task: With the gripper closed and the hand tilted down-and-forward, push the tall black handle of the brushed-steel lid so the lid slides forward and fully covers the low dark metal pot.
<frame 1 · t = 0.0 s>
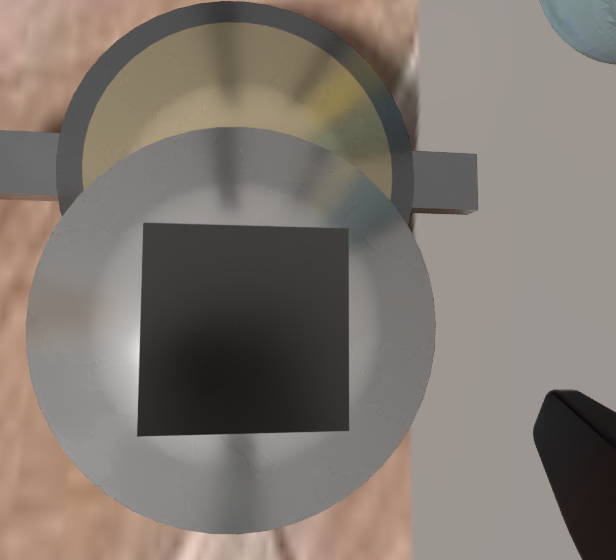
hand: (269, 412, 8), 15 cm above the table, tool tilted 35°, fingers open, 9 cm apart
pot: (242, 189, 23), on the table
lid: (243, 325, 14), point 9 cm above the table, slide at -6.0 cm
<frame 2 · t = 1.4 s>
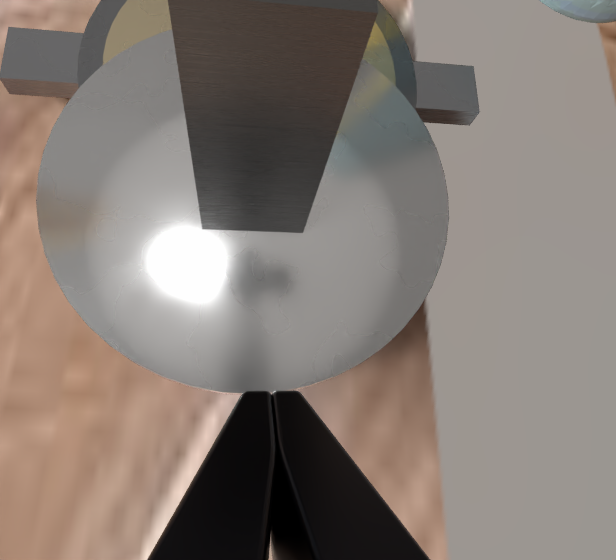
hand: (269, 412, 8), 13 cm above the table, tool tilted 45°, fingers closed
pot: (252, 110, 24), on the table
lid: (260, 108, 14), point 9 cm above the table, slide at -6.0 cm
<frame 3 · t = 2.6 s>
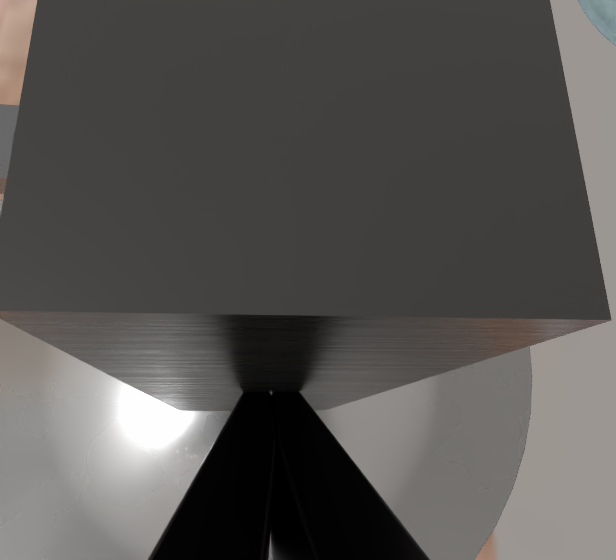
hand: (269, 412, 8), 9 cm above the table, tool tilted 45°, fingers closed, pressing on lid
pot: (253, 194, 18), on the table
lid: (266, 286, 8), point 9 cm above the table, slide at -6.0 cm, touching gripper
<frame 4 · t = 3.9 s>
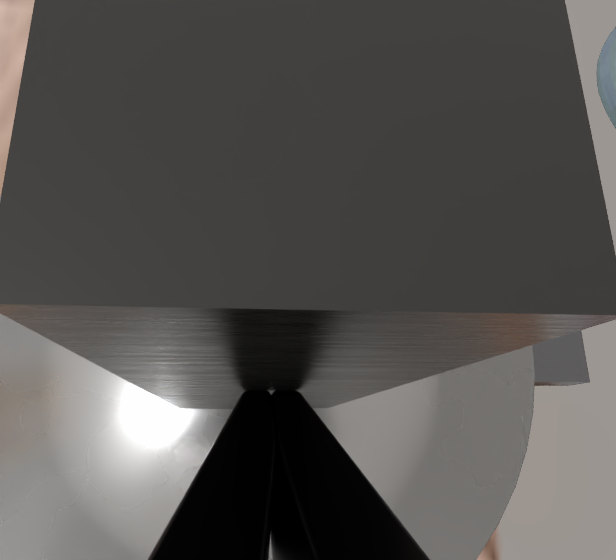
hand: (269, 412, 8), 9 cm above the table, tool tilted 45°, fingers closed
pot: (251, 353, 17), on the table
lid: (268, 282, 8), point 9 cm above the table, slide at -0.2 cm
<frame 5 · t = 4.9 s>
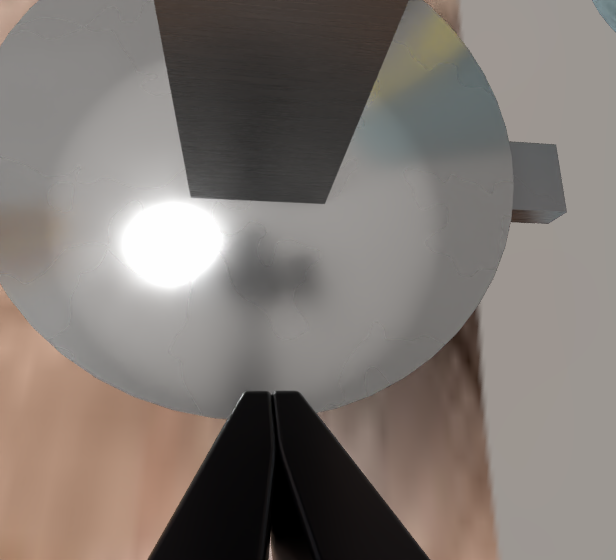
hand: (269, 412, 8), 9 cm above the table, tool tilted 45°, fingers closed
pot: (254, 198, 18), on the table
lid: (271, 12, 10), point 9 cm above the table, slide at -0.2 cm
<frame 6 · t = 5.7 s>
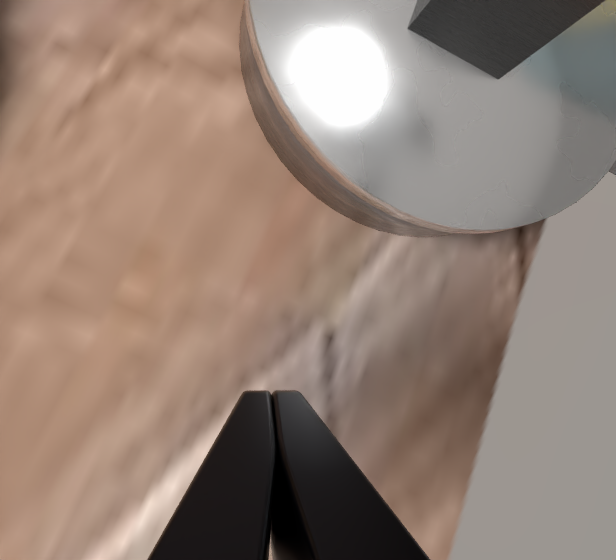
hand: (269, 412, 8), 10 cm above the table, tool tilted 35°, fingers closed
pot: (411, 66, 21), on the table
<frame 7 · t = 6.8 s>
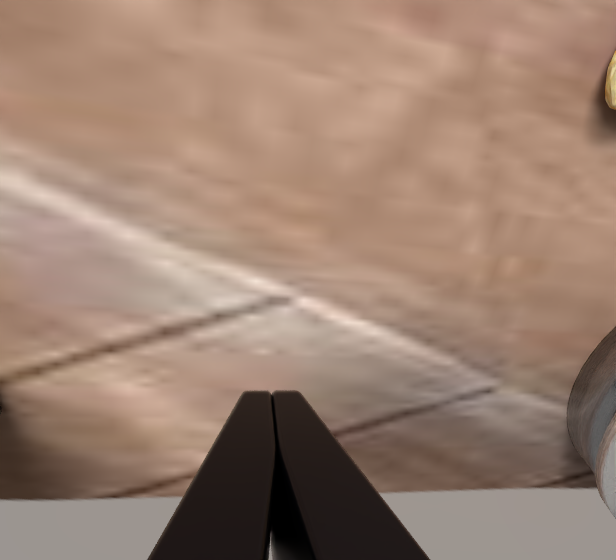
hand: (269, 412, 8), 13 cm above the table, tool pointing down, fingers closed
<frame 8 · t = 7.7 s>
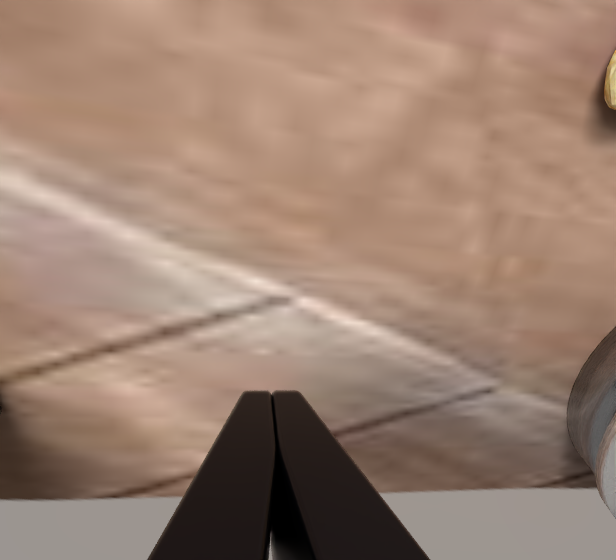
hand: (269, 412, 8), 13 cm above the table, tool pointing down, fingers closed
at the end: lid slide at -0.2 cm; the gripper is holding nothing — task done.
